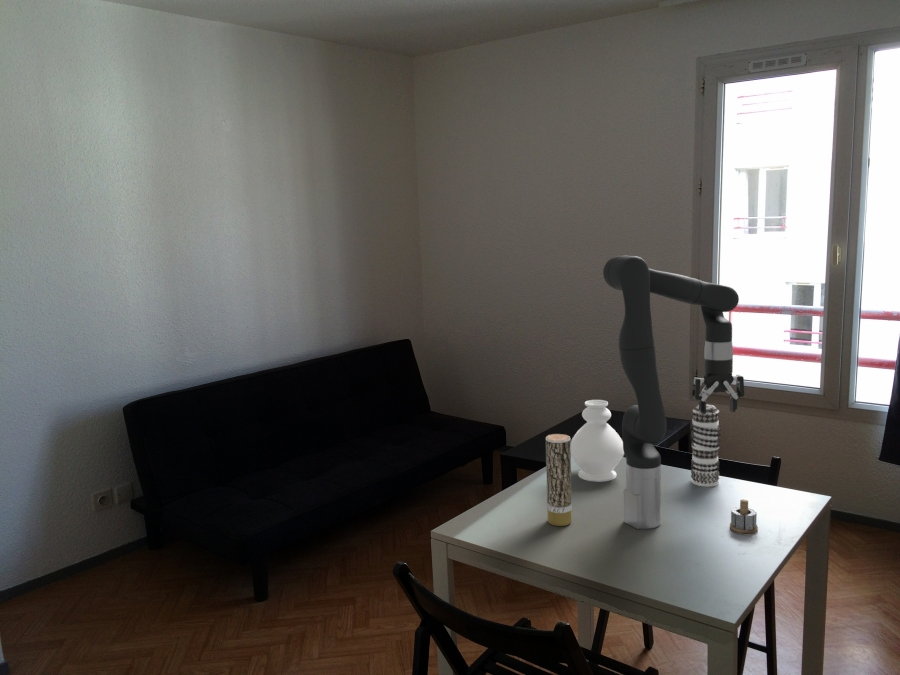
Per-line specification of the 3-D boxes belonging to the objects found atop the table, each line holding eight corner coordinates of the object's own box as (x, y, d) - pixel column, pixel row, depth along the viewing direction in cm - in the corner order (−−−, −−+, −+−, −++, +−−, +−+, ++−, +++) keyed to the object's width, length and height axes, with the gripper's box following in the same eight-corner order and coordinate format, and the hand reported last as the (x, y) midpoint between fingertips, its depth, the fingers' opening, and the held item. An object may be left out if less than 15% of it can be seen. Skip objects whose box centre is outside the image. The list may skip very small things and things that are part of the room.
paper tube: (555, 515, 212) (553, 432, 208) (576, 520, 208) (574, 436, 204) (543, 523, 207) (540, 438, 203) (564, 529, 202) (562, 442, 199)
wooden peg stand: (744, 536, 193) (744, 507, 192) (724, 527, 199) (724, 499, 198) (763, 530, 196) (764, 502, 194) (743, 521, 202) (743, 494, 201)
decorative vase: (581, 463, 256) (580, 394, 252) (631, 470, 247) (631, 398, 243) (562, 479, 241) (560, 406, 237) (614, 487, 232) (613, 411, 228)
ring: (751, 532, 193) (751, 517, 192) (728, 526, 197) (728, 512, 196) (758, 524, 198) (759, 510, 197) (736, 519, 201) (736, 505, 201)
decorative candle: (683, 479, 236) (684, 404, 232) (708, 475, 239) (708, 401, 235) (701, 488, 228) (702, 411, 224) (726, 484, 230) (727, 407, 226)
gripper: (737, 352, 209) (736, 407, 212) (688, 355, 208) (688, 410, 211) (749, 357, 202) (748, 414, 204) (699, 360, 201) (698, 417, 204)
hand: (717, 412), depth 208 cm, fingers open, 8 cm apart
